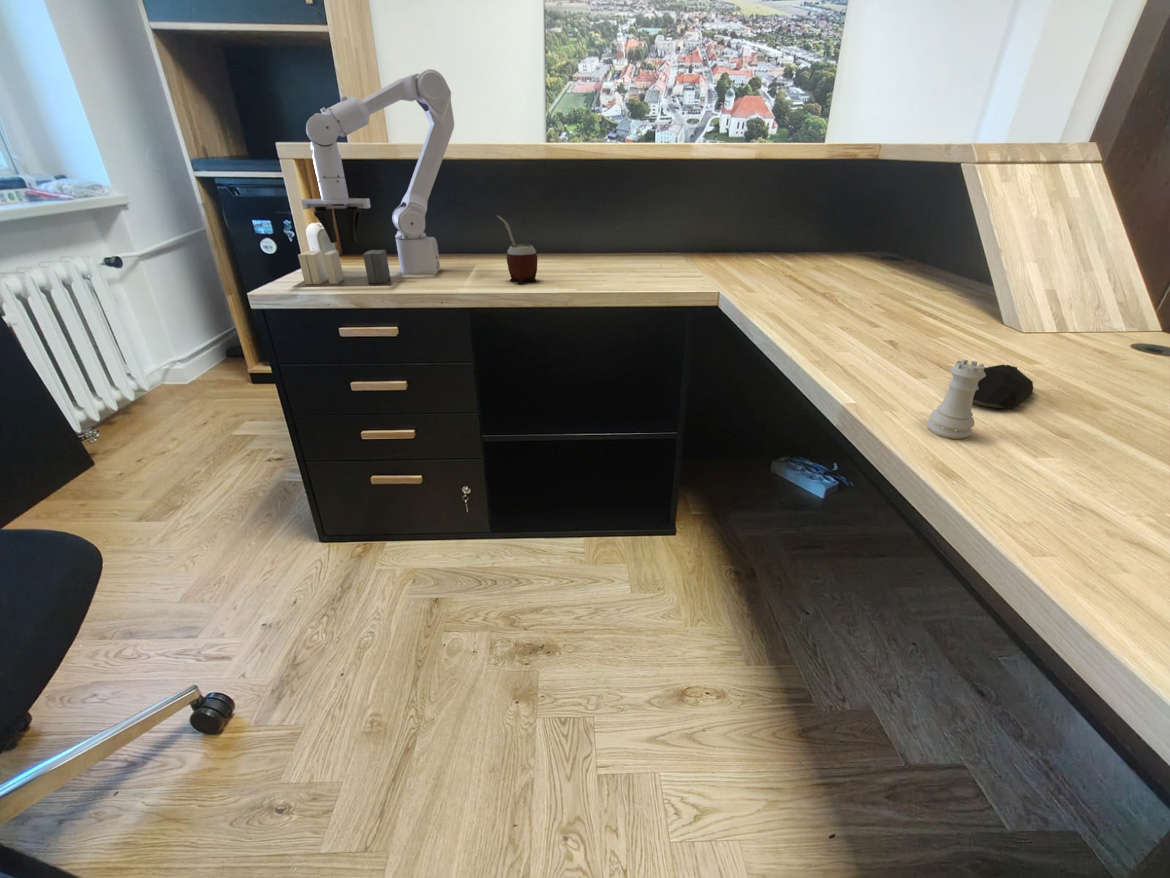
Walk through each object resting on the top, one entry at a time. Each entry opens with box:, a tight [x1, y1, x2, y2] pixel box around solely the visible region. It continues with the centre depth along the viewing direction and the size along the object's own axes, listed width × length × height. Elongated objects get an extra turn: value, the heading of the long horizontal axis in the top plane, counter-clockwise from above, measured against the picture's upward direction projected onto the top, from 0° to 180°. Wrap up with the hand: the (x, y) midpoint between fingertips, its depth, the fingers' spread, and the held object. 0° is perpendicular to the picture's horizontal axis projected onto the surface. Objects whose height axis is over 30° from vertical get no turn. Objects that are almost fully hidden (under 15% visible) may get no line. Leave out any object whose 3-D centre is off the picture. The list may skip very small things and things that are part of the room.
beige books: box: [297, 250, 328, 284], centre depth 127 cm, size 3×5×6 cm
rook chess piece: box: [926, 359, 986, 440], centre depth 60 cm, size 4×4×8 cm
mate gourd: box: [496, 215, 538, 285], centre depth 127 cm, size 8×8×15 cm
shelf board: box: [292, 275, 403, 288], centre depth 129 cm, size 22×10×1 cm, turn 92°
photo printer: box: [305, 222, 337, 277], centre depth 135 cm, size 10×4×12 cm, turn 39°
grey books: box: [362, 249, 391, 283], centre depth 127 cm, size 4×5×6 cm
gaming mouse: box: [972, 364, 1034, 409], centre depth 71 cm, size 6×15×4 cm, turn 126°
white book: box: [323, 249, 345, 284], centre depth 127 cm, size 2×5×6 cm, turn 2°
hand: (344, 242), depth 129 cm, fingers open, 4 cm apart
